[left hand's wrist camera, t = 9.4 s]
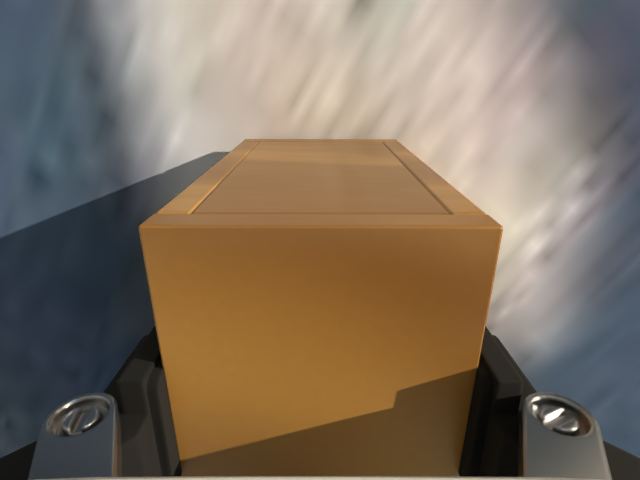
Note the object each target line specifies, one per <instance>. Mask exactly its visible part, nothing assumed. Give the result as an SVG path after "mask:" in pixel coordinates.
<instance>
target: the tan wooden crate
mask: <svg viewBox="0 0 640 480" xmlns="http://www.w3.org/2000/svg"><path fill="white" fill-rule="evenodd" d="M138 229H139V234H140V240H141V246H142V251H143V257H144V263H145V269H146V274H147V280H148V286H149V291H150V297H151V303H152V309H153V314H154V320H155V326H156V331H157V337H158V343H159V349H160V354H161V360H162V366H163V369H164V373H165V379H166V385H167V390H168V396H169V402H170V407H171V413H172V419H173V424H174V430H175V436H176V441H177V447H178V453H179V458H180V464H181V470H182V477H190V476H450V477H458V475H459V467H460V462H461V456H462V450H463V445H464V439H465V434H466V428H467V422H468V417H469V411H470V405H471V400H472V394H473V389H474V383H475V377H476V372H477V369H478V364H479V359H480V353H481V348H482V342H483V337H484V331H485V326H486V320H487V315H488V309H489V303H490V298H491V292H492V287H493V281H494V276H495V270H496V265H497V259H498V254H499V248H500V243H501V237H502V232H503V227H502V226H501V225H500V224H499V223H497V222H496V221H495V220H494V219H493V218H491V217H490V216H489V215H486V214H485V213H484V212H483V211H482V210H481V209H479V208H478V207H477V206H476V205H475V204H473V203H472V202H471V201H470V200H468V199H467V198H466V197H465V196H464V195H462V194H461V193H460V192H459V191H458V190H456V189H455V188H454V187H453V186H451V185H450V184H449V183H448V182H447V181H445V180H444V179H443V178H442V177H441V176H439V175H438V174H437V173H436V172H435V171H433V170H432V169H431V168H430V167H428V166H427V165H426V164H425V163H424V162H422V161H421V160H420V159H419V158H418V157H416V156H415V155H414V154H413V153H411V152H410V151H409V150H408V149H407V148H405V147H404V146H403V145H402V144H401V143H399V142H398V141H397V140H332V139H246V140H244V141H243V142H242V143H241V144H239V145H238V146H237V147H236V148H234V149H233V150H232V151H231V152H230V153H228V154H227V155H226V156H225V157H223V158H222V159H221V160H220V161H219V162H217V163H216V164H215V165H214V166H212V167H211V168H210V169H209V170H207V171H206V172H205V173H204V174H203V175H201V176H200V177H199V178H198V179H196V180H195V181H194V182H193V183H192V184H190V185H189V186H188V187H187V188H185V189H184V190H183V191H182V192H181V193H179V194H178V195H177V196H176V197H174V198H173V199H172V200H171V201H170V202H168V203H167V204H166V205H165V206H163V207H162V208H161V209H160V210H158V211H157V212H156V214H153V215H151V216H150V217H149V218H148V219H146V220H145V221H144V222H143V223H142V224H140V225H139V228H138Z"/></svg>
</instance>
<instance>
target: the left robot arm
mask: <svg viewBox="0 0 640 480" xmlns="http://www.w3.org/2000/svg"><path fill="white" fill-rule="evenodd" d="M181 474H182V470H181V464H180V458H179V453H178V447H177V441H176V436H175V430H174V424H173V419H172V413H171V407H170V402H169V396H168V390H167V385H166V379H165V373H164V369H163V366H162V360H161V354H160V349H159V343H158V337H157V331H156V326H155V327H154V328H153V329H152V331H151V332H150V334H149V335H146V336H144V337H143V338H142V339H141V341H140V342H139V344H138V345H137V346H136V348H135V349H134V351H133V352H132V353H131V355H130V356H129V358H128V359H127V360H126V362H125V363H124V365H123V366H122V367H121V369H120V370H119V372H118V373H117V374H116V376H115V377H114V379H113V380H112V381H111V383H110V384H109V385H108V387H107V388H106V390H105V391H104V392H103V393H102V392H93V393H87V394H82V395H79V396H76V397H73V398H71V399H69V400H67V401H65V402H63V403H61V404H60V405H58V406H57V407H56V408H54V409H53V410H52V411H51V412H50V413H49V414H48V415H47V416H46V417H45V418H44V421H43V423H42V425H41V427H40V431H39V436H38V440H37V441H35V442H33V443H31V444H29V445H27V446H25V447H23V448H21V449H19V450H17V451H15V452H13V453H11V454H9V455H7V456H5V457H3V458H1V459H0V480H640V458H638V457H636V456H634V455H632V454H629V453H627V452H625V451H623V450H621V449H619V448H617V447H615V446H613V445H611V444H609V443H607V442H605V441H603V440H602V436H601V431H600V427H599V425H598V423H597V421H596V418H595V417H594V416H593V415H592V414H591V413H590V412H589V411H588V410H587V409H586V408H584V407H583V406H582V405H580V404H579V403H577V402H575V401H573V400H571V399H569V398H567V397H564V396H561V395H558V394H553V393H547V392H539V393H537V392H536V390H535V389H534V388H533V386H532V385H531V383H530V382H529V381H528V379H527V378H526V377H525V375H524V374H523V372H522V371H521V370H520V368H519V367H518V365H517V364H516V363H515V361H514V360H513V358H512V357H511V356H510V354H509V353H508V351H507V350H506V349H505V347H504V346H503V344H502V343H501V342H500V340H499V339H498V338H497V337H496V336H494V335H491V333H490V332H489V330H488V329H487V327H486V326H485V331H484V337H483V342H482V348H481V353H480V359H479V364H478V369H477V372H476V377H475V383H474V389H473V394H472V400H471V405H470V411H469V417H468V422H467V428H466V434H465V439H464V445H463V450H462V456H461V462H460V467H459V475H460V477H450V476H190V477H180V476H181Z"/></svg>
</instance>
